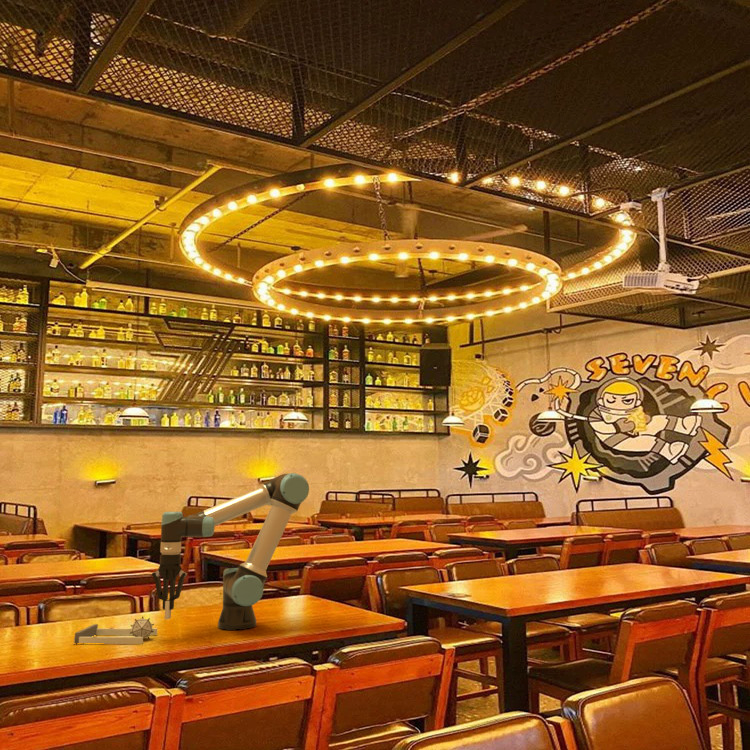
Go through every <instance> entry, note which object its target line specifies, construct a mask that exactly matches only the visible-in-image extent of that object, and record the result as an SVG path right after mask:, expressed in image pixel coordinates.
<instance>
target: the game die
mask: <svg viewBox="0 0 750 750" xmlns="http://www.w3.org/2000/svg"><path fill="white" fill-rule="evenodd" d="M150 620H151V618H150V617H149V618H148V619H147V618H144V616H142V617H141V618H140V619H136V618H135V619H134V623H133V624H131V625H130V627H131V628H132V632H130V634H131V633H132V634H133V635H134V636H133V637H143V640H144V639H146V638H147V639H150V636H149V635H150V633H151V632H154V631H152V628H153V626H154V625H155V623H151V621H150Z"/></svg>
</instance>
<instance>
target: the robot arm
mask: <svg viewBox="0 0 750 750" xmlns="http://www.w3.org/2000/svg"><path fill="white" fill-rule="evenodd" d="M309 493H310V486H309V482H308V481H307V479H306V478H305V477H304V476H302V475H301V474H298V473H295V472H293V473H292V472H291V473H283V474H280V475H278V476H276V477H274V478H272V479H270V480H269V481H266V482H264V483H261V485H260V487H258V488H256V489H253V490H251V491H248V492H246V493H244V494H241V495H238V496H236V497H233V498H231V499H228V500H226V501H224V502H222V503H219V504H215V506H212V507H209V508H207V509H204V510H202V511H200V512H198V513H197V512H196V513H195V514H190V515H187V516H183V512H182V511H165V512H163V513H162V516H161V517H162V518H161V524H160V525H161V526H160V527H161V528H160V530H161V531H160V549H159V550H160V551H159V552H160V553H161V554H160V555H159V567H158V568H157V570H156V571H154V572H152V573H151V575H152V577H153V579H154V584H155V590H156V595H157V598H158V600H161V601H162V610H164V620H170V619H171V618H172V610H174V607H175V600H177V599H179V598H180V596H181V592H182V590H183V585H184V582H185V578H186V577H187V575H188V572H186V571H183V570H182V566H181V564H182V563H181V560H182V559H181V557H182V555H181V552H182V538H187V537H188V538H196V537H197V538H201V537H203V538H205V537H212V536H213V535H214V533H215V527H216V526H218V525H221V524H223V523H225V522H228V521H231V520H233V519H235V518H238V517H240V516H242V515H245V514H248V513H250V512H252V511H256V510H257V509H259V508H262V507H265V506H270V509H269V511H268V513H267V516H266V518H265V520H264V522H263V524H262V526H261V528H260V530H259V533H258V535H257V537H256V539H255V541H254V544H253V545H252V547H251V550H250V552H249V553H248V556H247V559H246V560H245V562H242V563H240V564H239V566H238V567H231V568H225V569H224V570H223V575H222V580H223V581H222V583H223V584H222V607H221V612H220V615H219V618H218V621H217V628H218V629H219V628H220V630H223V629H226V631H237V630H236V629H244V630H248V629H247V628H250V629H253V628H252V627H254V628H255V626H257V619H256V615H255V611H254V607H253V606H254V605H255V604H257V603H258V602H259V601H260V600H261V598H262V597H263V594H264V585H265V582H266V581H267V578H268V575H267V569H268V566H269V565H270V563H271V561H272V557H273V556H274V554H275V551H276V550H277V547H278V545H279V542H280V541H281V539H282V536H283V535H284V532H285V530H286V527H287V526H288V523H289V521H290V519H291V516H292V515H293V514H295V513H297V512H298V510H299V508H300V506H301V504H302V503H303V502H304V501H305V500H306V499H307V498H308V495H309ZM160 576H161V577H160ZM178 576H179V579H178V583H177V584H176V580H177V577H178ZM161 578H162V582H163V584H162V582H161Z"/></svg>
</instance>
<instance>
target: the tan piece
mask: <svg viewBox="0 0 750 750" xmlns="http://www.w3.org/2000/svg"><path fill="white" fill-rule="evenodd" d="M98 627H99V625H98V624H97V623H95V624H92V625H89V626H88V627H85V628H83V629H81V630H79V631H76V632H75V633H74V637H73V644H74V643H104V644H142V643H143V644H144V639H143V637H135V636H94V635H133V634H132V633H131V634H130V632H132V627H131V628H127V627H126V628H124V627H123V628H122V627H121V628H120V627H119V628H117V627H116V628H115V627H109V628H98ZM152 631H154V632H151V633H150V635H157V636H158V628H156V627H155V628H154V627H152ZM92 636H93V637H92ZM143 644H142V645H143Z"/></svg>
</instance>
